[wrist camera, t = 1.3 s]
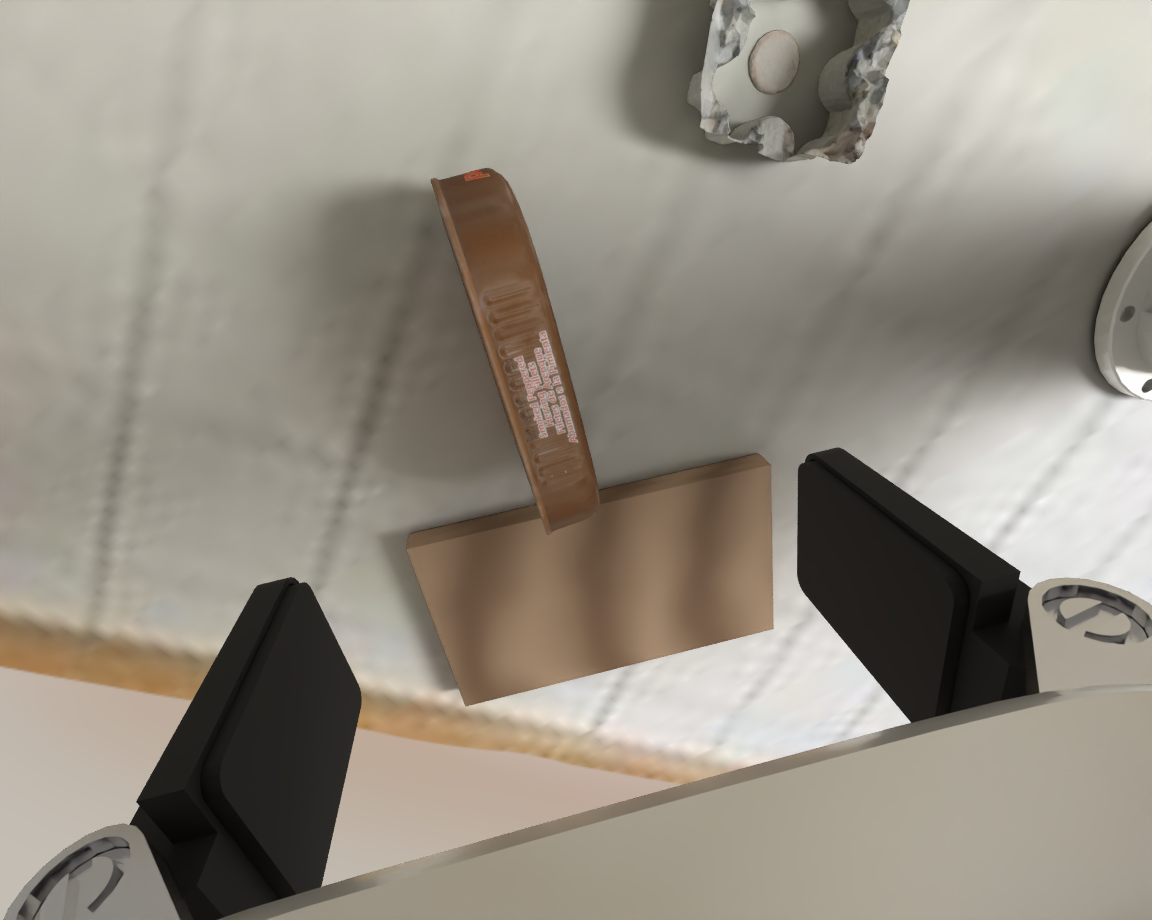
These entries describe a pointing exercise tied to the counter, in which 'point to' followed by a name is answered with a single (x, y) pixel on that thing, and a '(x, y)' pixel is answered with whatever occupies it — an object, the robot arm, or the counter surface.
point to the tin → (520, 342)
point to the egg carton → (844, 82)
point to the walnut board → (601, 580)
